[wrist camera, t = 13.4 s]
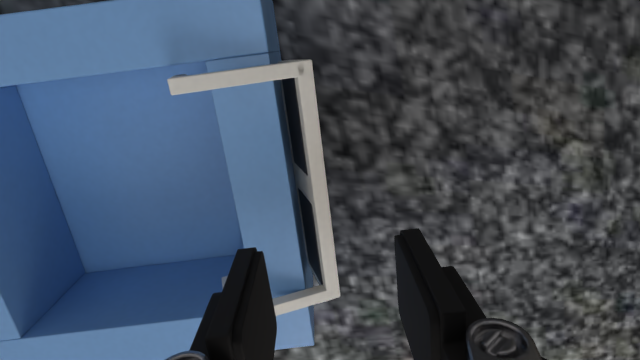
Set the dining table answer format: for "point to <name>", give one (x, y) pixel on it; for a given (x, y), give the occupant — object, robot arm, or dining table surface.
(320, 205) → the white sunglasses
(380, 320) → the dining table surface
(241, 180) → the bin
